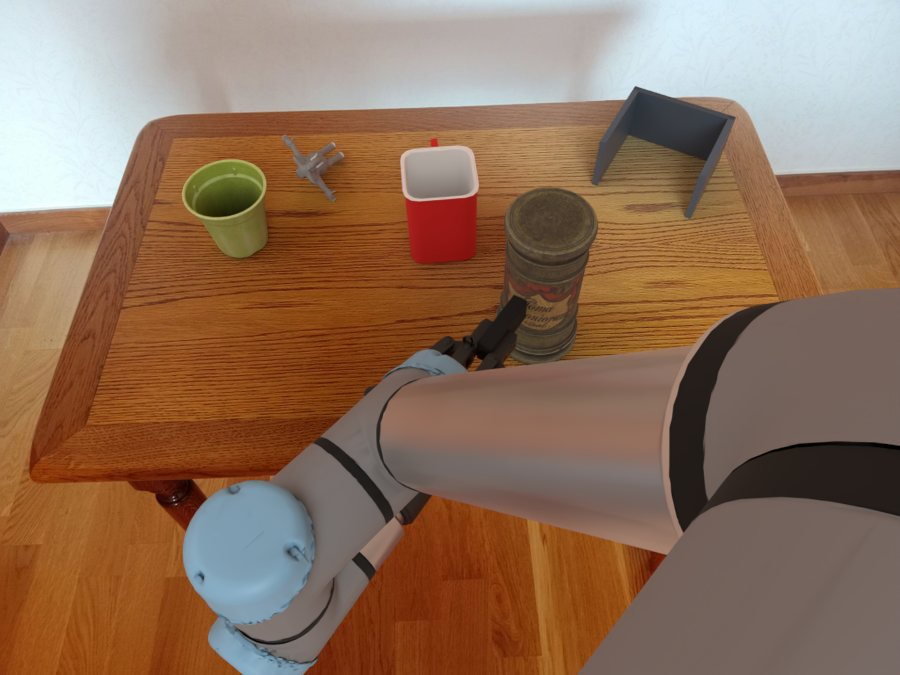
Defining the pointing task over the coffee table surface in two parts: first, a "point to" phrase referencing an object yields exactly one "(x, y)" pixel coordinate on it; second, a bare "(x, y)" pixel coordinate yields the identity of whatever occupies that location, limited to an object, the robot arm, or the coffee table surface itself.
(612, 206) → the coffee table surface
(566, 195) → the container
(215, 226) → the plant pot
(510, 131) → the coffee table surface
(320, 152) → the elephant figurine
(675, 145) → the grey u-shaped piece
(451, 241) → the mug
